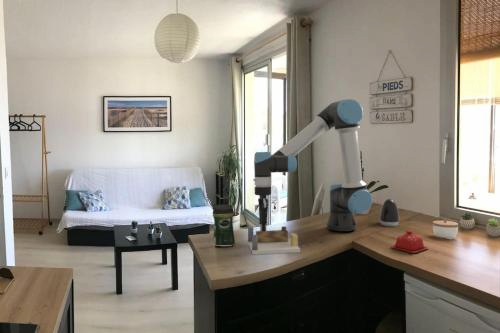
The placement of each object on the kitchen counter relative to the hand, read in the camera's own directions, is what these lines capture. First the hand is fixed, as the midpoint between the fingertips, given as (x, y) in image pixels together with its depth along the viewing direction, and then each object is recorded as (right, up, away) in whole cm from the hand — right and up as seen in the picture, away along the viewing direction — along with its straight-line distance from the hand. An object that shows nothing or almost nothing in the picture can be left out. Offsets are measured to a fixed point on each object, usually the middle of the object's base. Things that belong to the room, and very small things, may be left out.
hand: (263, 237), depth 175 cm
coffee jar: (-18, -4, -1) cm, 18 cm away
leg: (+4, -1, -2) cm, 4 cm away
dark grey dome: (+69, 0, +33) cm, 76 cm away
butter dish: (+61, -3, -12) cm, 63 cm away
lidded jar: (+85, -2, +5) cm, 85 cm away
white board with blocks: (+4, -3, -6) cm, 8 cm away
